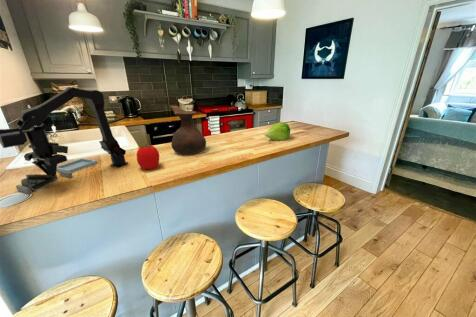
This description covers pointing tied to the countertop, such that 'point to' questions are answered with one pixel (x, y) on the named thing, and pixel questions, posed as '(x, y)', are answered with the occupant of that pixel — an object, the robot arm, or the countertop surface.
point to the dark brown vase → (187, 134)
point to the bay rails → (27, 190)
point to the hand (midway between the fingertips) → (52, 175)
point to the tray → (76, 165)
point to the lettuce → (278, 131)
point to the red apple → (148, 157)
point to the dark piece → (38, 181)
